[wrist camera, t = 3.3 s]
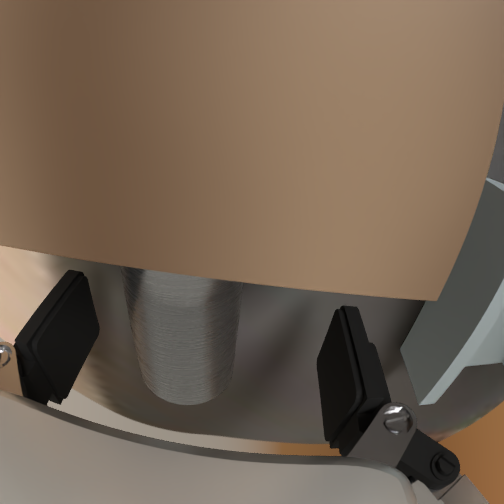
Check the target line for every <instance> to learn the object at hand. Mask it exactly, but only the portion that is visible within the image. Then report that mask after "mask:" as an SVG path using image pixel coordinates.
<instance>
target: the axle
mask: <svg viewBox="0 0 504 504" xmlns="http://www.w3.org/2000/svg"><path fill="white" fill-rule="evenodd" d="M121 270H122V277H123V283H124V290H125V296H126V302H127V308H128V313H129V318H130V324H131V329H132V334H133V338H134V343H135V348H136V352H137V357H138V361H139V365H140V369H141V373H142V377H143V380H144V382H145V384H146V385H147V387H148V388H149V389H150V390H151V391H152V392H153V393H154V394H155V395H157V396H158V397H160V398H161V399H163V400H165V401H168V402H171V403H175V404H181V405H195V404H200V403H204V402H207V401H210V400H212V399H214V398H215V397H217V396H218V395H220V394H221V393H222V392H223V391H224V390H225V389H226V388H227V386H228V385H229V383H230V381H231V378H232V373H233V365H234V357H235V348H236V340H237V331H238V323H239V314H240V306H241V297H242V289H243V282H236V281H228V280H220V279H212V278H204V277H197V276H189V275H182V274H175V273H167V272H160V271H153V270H146V269H140V268H133V267H126V266H121Z"/></svg>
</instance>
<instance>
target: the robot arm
mask: <svg viewBox="0 0 504 504" xmlns="http://www.w3.org/2000/svg"><path fill="white" fill-rule="evenodd" d="M99 330H100V329H99V323H98V320H97V316H96V312H95V308H94V304H93V300H92V296H91V292H90V288H89V283H88V279H87V277H86V276H84V274H83V272H80V271H74V270H68V271H67V272H66V273H65V275H64V276H63V277H62V278H61V279H60V281H59V282H58V283H57V284H56V286H55V287H54V288H53V289H52V290H51V292H50V293H49V294H48V296H47V297H46V298H45V299H44V301H43V302H42V303H41V305H40V306H39V307H38V308H37V310H36V311H35V312H34V314H33V315H32V316H31V318H30V319H29V321H28V322H27V323H26V325H25V326H24V327H23V329H22V330H21V332H20V333H19V334H18V336H17V337H16V339H15V342H16V343H15V344H14V345H12V344H10V343H8V342H0V504H489V503H488V501H487V500H486V499H485V498H484V497H483V495H482V494H481V493H480V492H479V491H478V489H477V488H476V487H475V486H474V485H473V484H472V482H471V481H470V480H469V479H468V477H467V476H466V475H463V476H461V475H460V473H459V472H460V464H459V460H458V458H457V457H456V455H455V454H453V453H452V452H451V451H449V450H448V449H446V448H445V447H443V446H442V445H440V444H439V443H437V442H436V441H434V440H433V439H431V438H430V437H428V436H427V435H425V434H424V433H422V432H421V431H419V430H418V429H416V428H417V418H416V416H415V414H414V412H413V411H412V410H411V409H410V408H409V407H408V406H406V405H404V404H402V403H397V402H391V398H390V395H389V391H388V387H387V384H386V380H385V377H384V373H383V370H382V367H381V363H380V360H379V357H378V353H377V350H376V347H375V345H374V344H373V343H369V341H368V338H367V334H366V331H365V328H364V325H363V322H362V319H361V315H360V312H359V309H358V308H357V307H353V306H341V308H340V309H336V310H335V312H334V315H333V318H332V321H331V324H330V326H329V329H328V332H327V334H326V337H325V340H324V342H323V345H322V347H321V350H320V353H319V355H318V358H317V372H318V380H319V389H320V398H321V407H322V416H323V426H324V436H325V440H326V441H329V442H330V448H339V452H340V454H341V455H342V456H298V455H276V454H258V453H246V452H236V451H227V450H218V449H211V448H204V447H197V446H191V445H185V444H180V443H174V442H169V441H164V440H159V439H154V438H150V437H146V436H142V435H137V434H133V433H129V432H125V431H122V430H118V429H114V428H111V427H107V426H104V425H101V424H97V423H94V422H91V421H88V420H85V419H82V418H79V417H76V416H73V415H70V414H67V413H65V412H62V411H59V410H56V409H54V408H51V407H48V406H47V403H48V401H49V400H50V401H52V402H54V403H57V404H61V403H62V400H63V399H66V398H67V396H68V394H69V392H70V390H71V388H72V386H73V384H74V382H75V380H76V378H77V376H78V374H79V372H80V370H81V368H82V366H83V364H84V362H85V360H86V358H87V356H88V354H89V352H90V350H91V348H92V346H93V344H94V342H95V341H96V339H97V337H98V335H99Z"/></svg>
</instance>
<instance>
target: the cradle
mask: <svg viewBox="0 0 504 504" xmlns="http://www.w3.org/2000/svg"><path fill="white" fill-rule="evenodd" d="M400 351H401V354H402V357H403V360H404V362H405V365H406V368H407V371H408V374H409V377H410V380H411V383H412V386H413V389H414V392H415V395H416V398H417V401H418V405H425V404H434V403H435V402H436V401H437V400H438V399H439V398H440V397H441V395H442V394H443V393H444V392H445V391H446V389H447V388H448V387H449V386H450V385H451V383H452V382H453V381H454V380H455V378H456V377H457V376H458V375H459V373H460V372H461V371H462V369H463V368H464V367H465V366H475V365H484V364H493V363H501V362H502V363H503V365H504V184H502V183H500V182H497V181H495V180H492V179H490V178H487V177H486V180H485V184H484V187H483V190H482V193H481V196H480V199H479V202H478V205H477V208H476V211H475V214H474V217H473V219H472V222H471V225H470V227H469V230H468V233H467V235H466V238H465V240H464V243H463V245H462V248H461V250H460V252H459V255H458V257H457V259H456V262H455V264H454V266H453V268H452V270H451V273H450V275H449V277H448V279H447V281H446V283H445V285H444V287H443V289H442V292H441V294H440V296H439V298H438V299H437V301H427V300H426V302H425V304H424V306H423V308H422V310H421V312H420V313H419V315H418V317H417V319H416V321H415V323H414V325H413V327H412V328H411V330H410V332H409V334H408V336H407V337H406V339H405V341H404V343H403V344H402V346H401V348H400Z"/></svg>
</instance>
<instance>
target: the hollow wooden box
mask: <svg viewBox="0 0 504 504" xmlns="http://www.w3.org/2000/svg"><path fill="white" fill-rule="evenodd" d="M503 103H504V0H0V245H2V246H7V247H12V248H18V249H23V250H29V251H34V252H40V253H46V254H52V255H57V256H63V257H69V258H75V259H81V260H88V261H94V262H100V263H107V264H113V265H120V266H126V267H133V268H140V269H146V270H153V271H160V272H167V273H175V274H182V275H189V276H197V277H204V278H212V279H220V280H228V281H236V282H244V283H253V284H261V285H270V286H278V287H287V288H297V289H306V290H315V291H325V292H335V293H345V294H356V295H367V296H378V297H389V298H401V299H414V300H427V301H437V299H438V298H439V296H440V294H441V292H442V289H443V287H444V285H445V283H446V281H447V279H448V277H449V275H450V273H451V270H452V268H453V266H454V264H455V262H456V259H457V257H458V255H459V252H460V250H461V248H462V245H463V243H464V240H465V238H466V235H467V233H468V230H469V227H470V225H471V222H472V219H473V217H474V214H475V211H476V208H477V205H478V202H479V199H480V196H481V193H482V190H483V187H484V184H485V180H486V177H487V174H488V170H489V166H490V163H491V159H492V155H493V151H494V147H495V143H496V139H497V134H498V129H499V125H500V120H501V114H502V109H503Z"/></svg>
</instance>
